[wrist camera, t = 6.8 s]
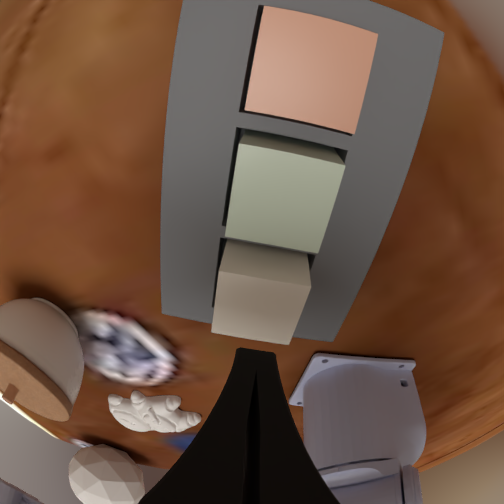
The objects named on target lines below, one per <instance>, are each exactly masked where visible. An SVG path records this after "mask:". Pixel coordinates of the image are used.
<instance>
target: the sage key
mask: <svg viewBox="0 0 504 504" xmlns="http://www.w3.org/2000/svg"><path fill="white" fill-rule="evenodd" d="M344 170H345V164H344V163H343V161H342V160H341V158H340V157H339V155H338V154H337V152H336V151H335V149H334V148H333V147H329V146H325V145H321V144H317V143H312V142H308V141H303V140H299V139H294V138H289V137H285V136H280V135H274V134H269V133H264V132H258V131H253V130H247V129H246V130H245V132H244V134H243V136H242V138H241V140H240V142H239V147H238V153H237V159H236V165H235V172H234V178H233V185H232V191H231V198H230V204H229V211H228V218H227V225H226V232H225V237H231V238H236V239H242V240H247V241H253V242H258V243H264V244H269V245H275V246H280V247H286V248H291V249H296V250H302V251H307V252H312V253H318V252H319V249H320V246H321V243H322V240H323V237H324V234H325V231H326V228H327V225H328V222H329V219H330V216H331V212H332V209H333V206H334V203H335V200H336V196H337V193H338V190H339V187H340V183H341V180H342V176H343V173H344Z"/></svg>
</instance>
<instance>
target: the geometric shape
mask: <svg viewBox="0 0 504 504" xmlns="http://www.w3.org/2000/svg"><path fill="white" fill-rule="evenodd" d="M69 479H70V485H71V488H72V490H73V491H74V493H75V495H76V496H77V498H78V499H79V500H81V501H82V502H83V503H84V504H138V502H139V501H140V500H141V498H142V497H143V495H144V494H145V489H144V482H143V474H142V470H141V469H140V468H139V467H138V466H137V465H136V463H135V462H134V461H133V460H132V459H131V458H130V456H129V455H128V454H127V453H126V452H124V451H121V450H118V449H116V448H113V447H110V446H108V445H105V444H100V445H95V446H90V447H86V448H81V449H80V450H79V451H78V452H77V453H76V454H75V455H74V456H73V458H72V460H71V462H70V464H69Z"/></svg>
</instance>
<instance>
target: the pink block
mask: <svg viewBox="0 0 504 504" xmlns="http://www.w3.org/2000/svg"><path fill="white" fill-rule="evenodd" d="M377 38H378V34H377V33H374V32H371V31H368V30H365V29H362V28H359V27H356V26H353V25H349V24H346V23H342V22H339V21H335V20H332V19H328V18H324V17H320V16H316V15H312V14H307V13H302V12H298V11H293V10H287V9H282V8H276V7H270V6H264V9H263V14H262V19H261V24H260V29H259V34H258V39H257V44H256V50H255V55H254V60H253V66H252V71H251V77H250V82H249V88H248V93H247V99H246V105H245V110H247V111H253V112H259V113H264V114H270V115H275V116H280V117H285V118H290V119H295V120H299V121H304V122H308V123H312V124H317V125H321V126H325V127H329V128H333V129H337V130H340V131H344V132H348V133H351V134H355V130H356V127H357V123H358V119H359V115H360V111H361V108H362V104H363V100H364V96H365V91H366V87H367V83H368V79H369V75H370V70H371V66H372V62H373V57H374V52H375V48H376V43H377Z"/></svg>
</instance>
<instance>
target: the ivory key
mask: <svg viewBox="0 0 504 504" xmlns="http://www.w3.org/2000/svg"><path fill="white" fill-rule="evenodd" d="M310 289H311V280H310V272H309V264H308V256H307V253H303V252H298V251H292V250H287V249H282V248H276V247H271V246H265V245H260V244H254V243H249V242H243V241H238V240H232V239H227V242H226V246H225V249H224V253H223V257H222V261H221V265H220V268H219V274H218V281H217V289H216V297H215V305H214V314H213V322H212V331H211V332H212V333H218V334H223V335H229V336H234V337H240V338H246V339H252V340H259V341H265V342H272V343H279V344H286V345H289V343H290V341H291V338H292V336H293V333H294V331H295V328H296V326H297V323H298V321H299V318H300V316H301V313H302V310H303V308H304V305H305V303H306V300H307V297H308V295H309V292H310Z"/></svg>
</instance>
